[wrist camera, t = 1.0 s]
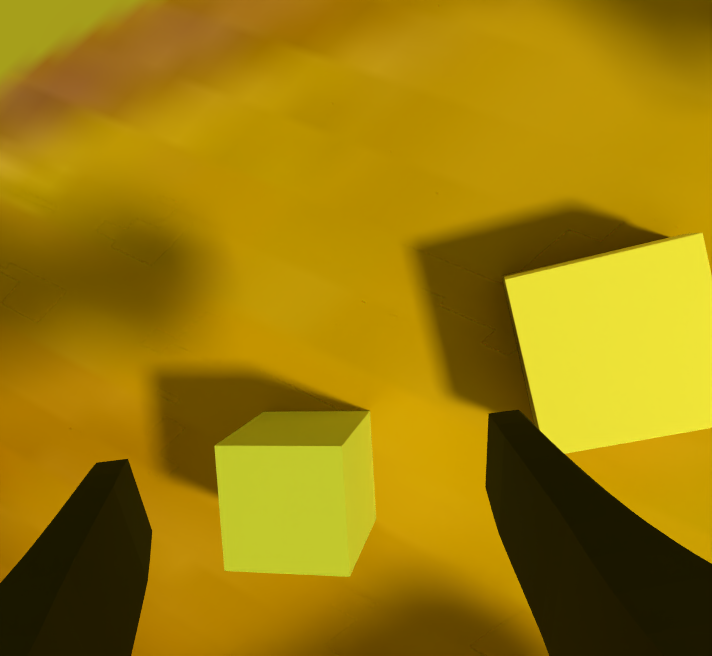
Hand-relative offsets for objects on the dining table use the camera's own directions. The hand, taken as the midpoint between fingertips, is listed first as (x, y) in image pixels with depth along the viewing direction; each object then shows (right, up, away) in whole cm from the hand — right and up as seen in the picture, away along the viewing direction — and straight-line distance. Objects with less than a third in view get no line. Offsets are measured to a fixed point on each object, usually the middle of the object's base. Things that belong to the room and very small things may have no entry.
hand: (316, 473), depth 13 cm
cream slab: (+10, +2, +10) cm, 14 cm away
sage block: (-1, -3, +14) cm, 14 cm away
